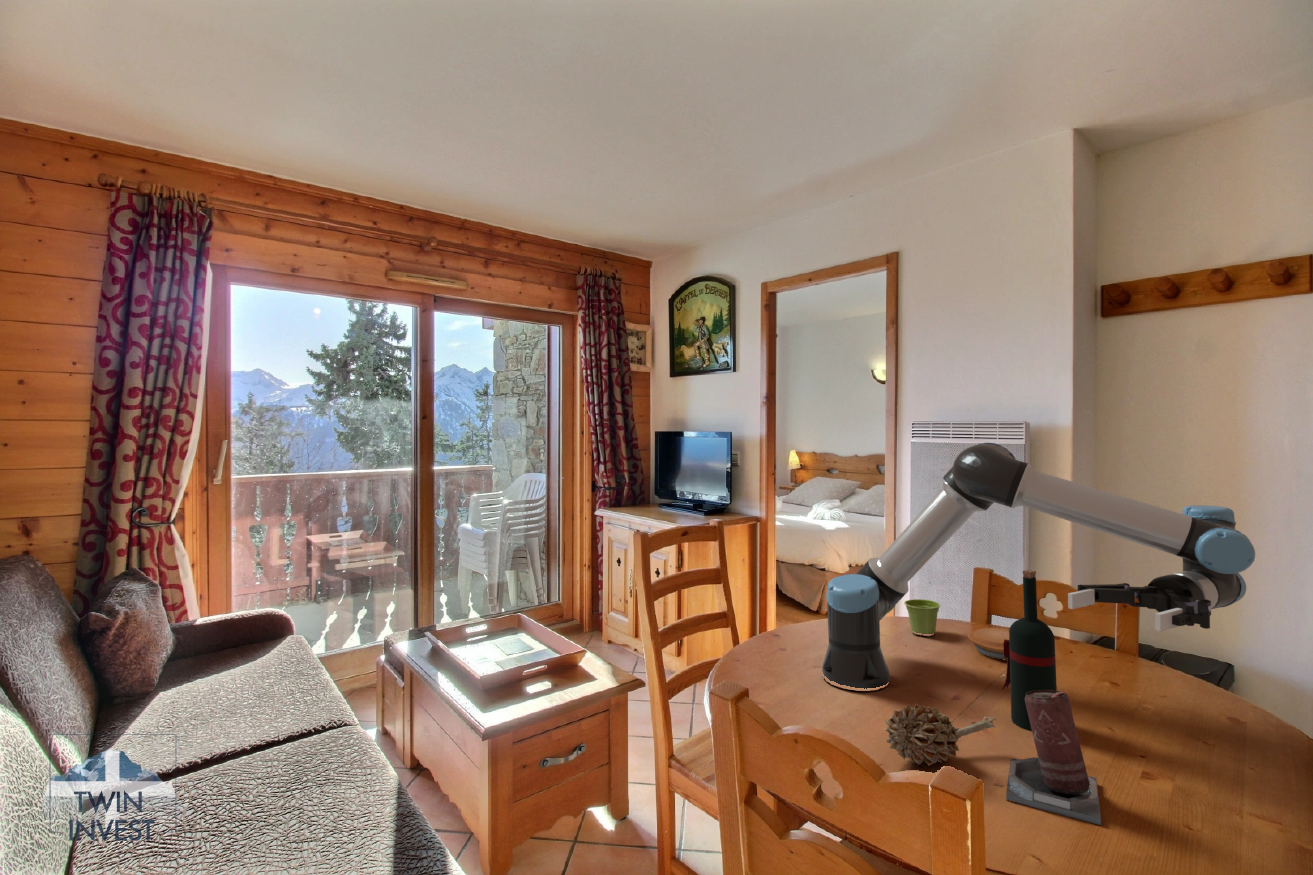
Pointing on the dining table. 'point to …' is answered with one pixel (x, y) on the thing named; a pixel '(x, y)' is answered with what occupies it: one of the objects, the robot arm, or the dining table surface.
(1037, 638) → the wine bottle
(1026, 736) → the dining table surface
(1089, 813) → the cup holder
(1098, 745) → the dining table surface
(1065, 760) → the can
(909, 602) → the plant pot
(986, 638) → the pie
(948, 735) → the pine cone
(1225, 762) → the dining table surface
